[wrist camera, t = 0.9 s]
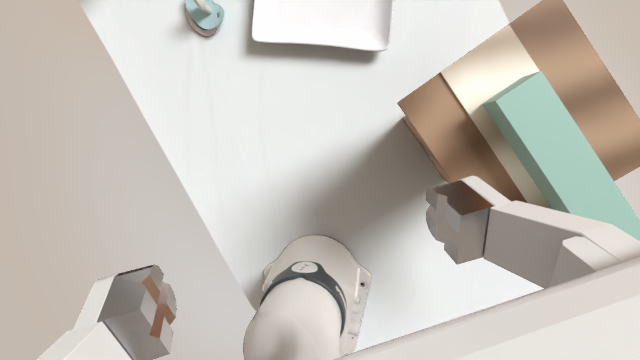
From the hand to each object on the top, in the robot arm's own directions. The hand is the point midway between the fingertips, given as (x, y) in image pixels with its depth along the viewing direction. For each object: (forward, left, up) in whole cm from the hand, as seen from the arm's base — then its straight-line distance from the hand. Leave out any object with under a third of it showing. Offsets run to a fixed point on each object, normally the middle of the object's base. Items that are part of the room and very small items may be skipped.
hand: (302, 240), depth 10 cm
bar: (-2, -18, -20) cm, 27 cm away
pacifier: (+22, +25, -46) cm, 57 cm away
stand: (+3, -14, -46) cm, 48 cm away
